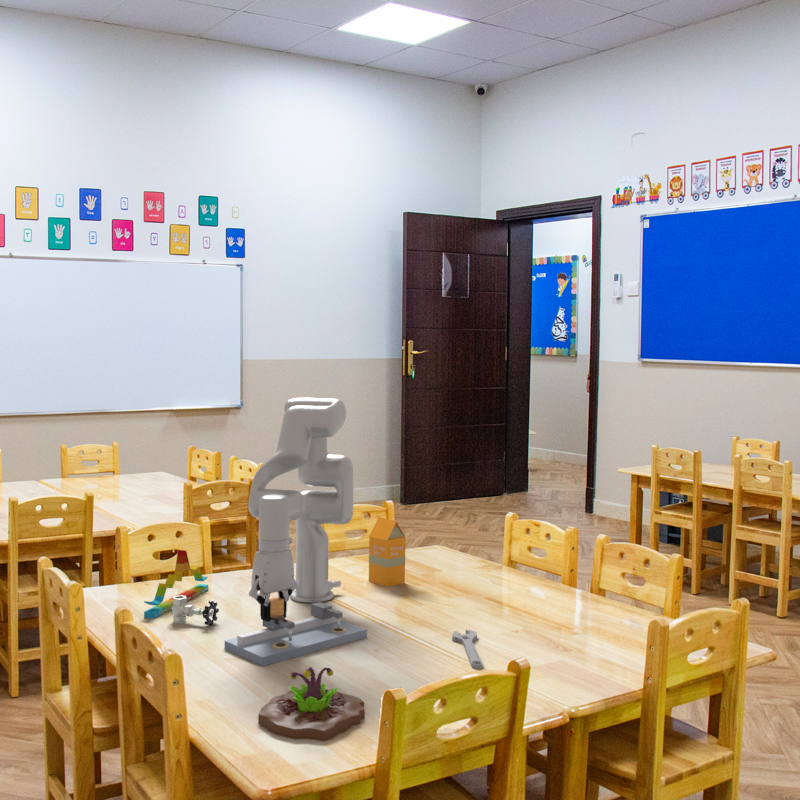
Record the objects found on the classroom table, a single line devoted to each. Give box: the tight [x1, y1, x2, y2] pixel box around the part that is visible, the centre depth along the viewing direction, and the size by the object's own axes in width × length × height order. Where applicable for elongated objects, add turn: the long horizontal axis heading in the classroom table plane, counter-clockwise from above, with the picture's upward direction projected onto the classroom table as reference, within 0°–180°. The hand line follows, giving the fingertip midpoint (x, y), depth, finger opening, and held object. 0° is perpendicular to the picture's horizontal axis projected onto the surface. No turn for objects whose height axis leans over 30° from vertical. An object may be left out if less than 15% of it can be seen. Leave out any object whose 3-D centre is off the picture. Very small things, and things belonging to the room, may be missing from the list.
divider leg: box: [262, 596, 295, 641], centre depth 222 cm, size 4×10×9 cm, turn 43°
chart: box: [143, 549, 210, 619], centre depth 258 cm, size 30×3×15 cm, turn 164°
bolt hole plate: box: [224, 602, 368, 667], centre depth 225 cm, size 32×16×7 cm, turn 134°
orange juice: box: [368, 516, 406, 588], centre depth 285 cm, size 8×9×20 cm
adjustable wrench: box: [451, 629, 483, 670], centre depth 222 cm, size 25×6×2 cm, turn 179°
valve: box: [171, 595, 220, 627], centre depth 240 cm, size 7×7×12 cm
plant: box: [257, 666, 366, 742], centre depth 180 cm, size 20×20×11 cm
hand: (273, 617), depth 224 cm, fingers closed on divider leg, 4 cm apart
